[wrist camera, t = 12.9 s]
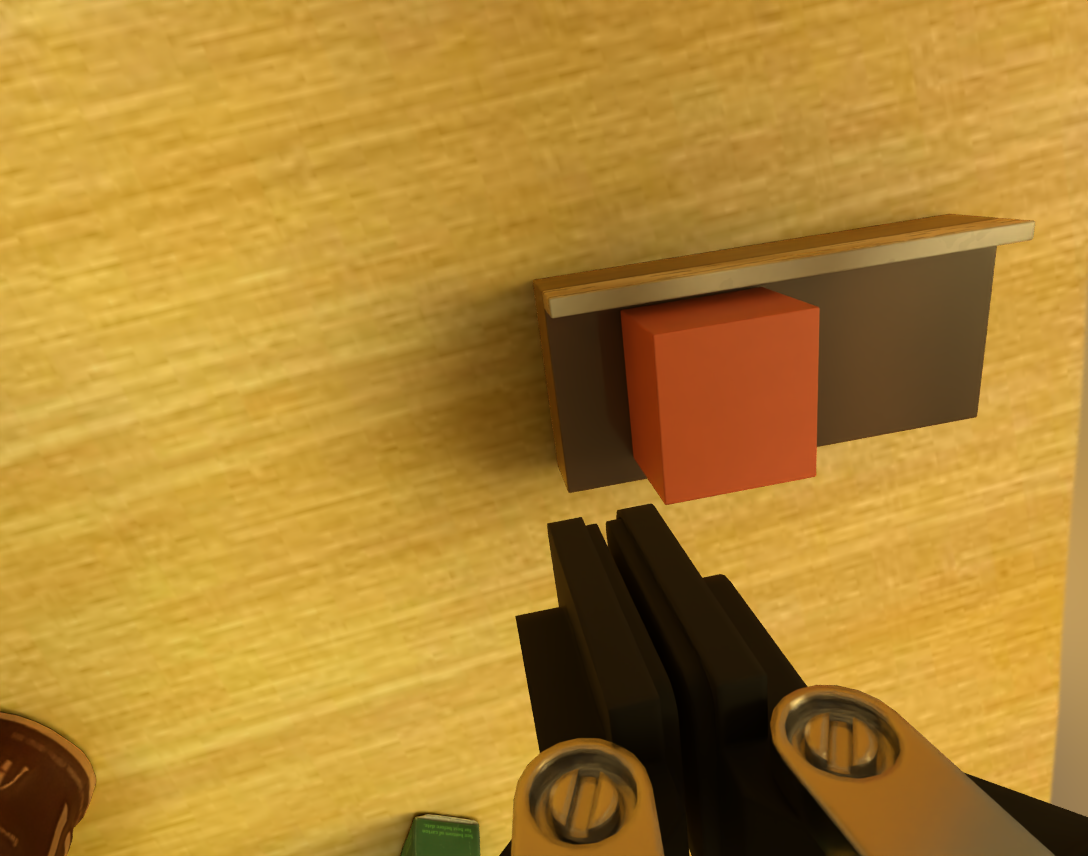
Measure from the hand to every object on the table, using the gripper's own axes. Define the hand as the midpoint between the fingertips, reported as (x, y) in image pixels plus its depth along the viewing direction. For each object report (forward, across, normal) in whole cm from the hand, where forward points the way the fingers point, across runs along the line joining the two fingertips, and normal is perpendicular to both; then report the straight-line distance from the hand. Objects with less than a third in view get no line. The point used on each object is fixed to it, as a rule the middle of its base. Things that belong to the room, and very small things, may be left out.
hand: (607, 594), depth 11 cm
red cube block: (+9, -5, 0) cm, 10 cm away
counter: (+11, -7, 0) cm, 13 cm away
